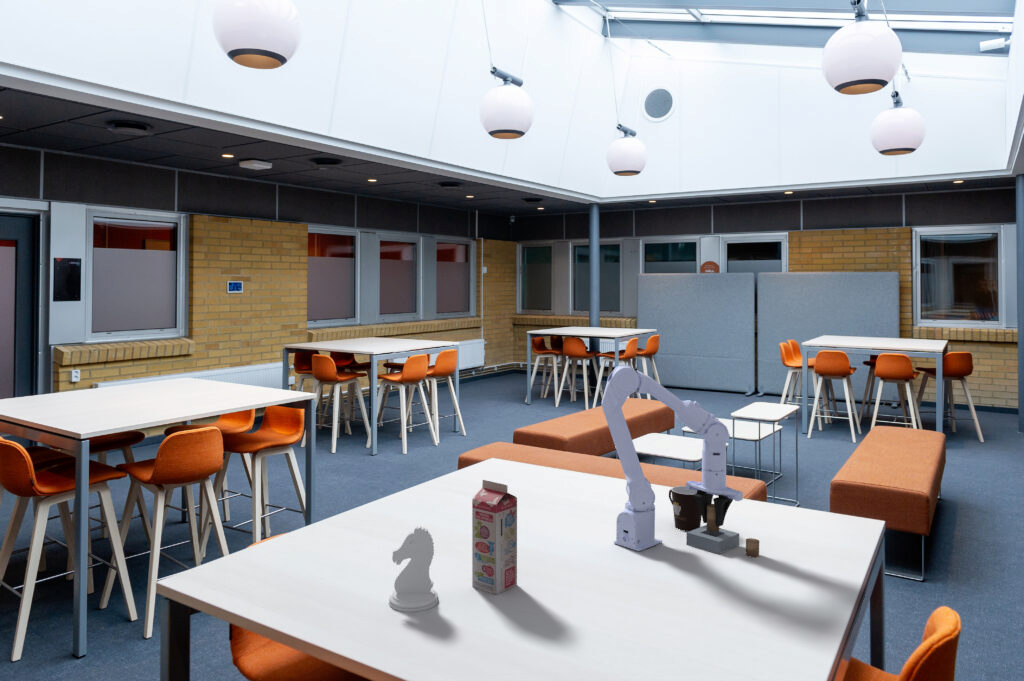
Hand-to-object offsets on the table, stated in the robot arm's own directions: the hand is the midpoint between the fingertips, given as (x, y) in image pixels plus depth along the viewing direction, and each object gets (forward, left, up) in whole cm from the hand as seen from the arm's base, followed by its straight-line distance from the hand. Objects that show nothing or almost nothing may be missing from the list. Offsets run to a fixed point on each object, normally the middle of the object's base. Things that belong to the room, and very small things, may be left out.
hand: (713, 523), depth 174 cm
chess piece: (-73, +22, -6) cm, 76 cm away
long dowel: (0, 0, -2) cm, 2 cm away
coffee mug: (+8, +13, -6) cm, 16 cm away
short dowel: (+1, -10, -5) cm, 11 cm away
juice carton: (-56, +17, -6) cm, 59 cm away
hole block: (0, 0, -5) cm, 5 cm away
